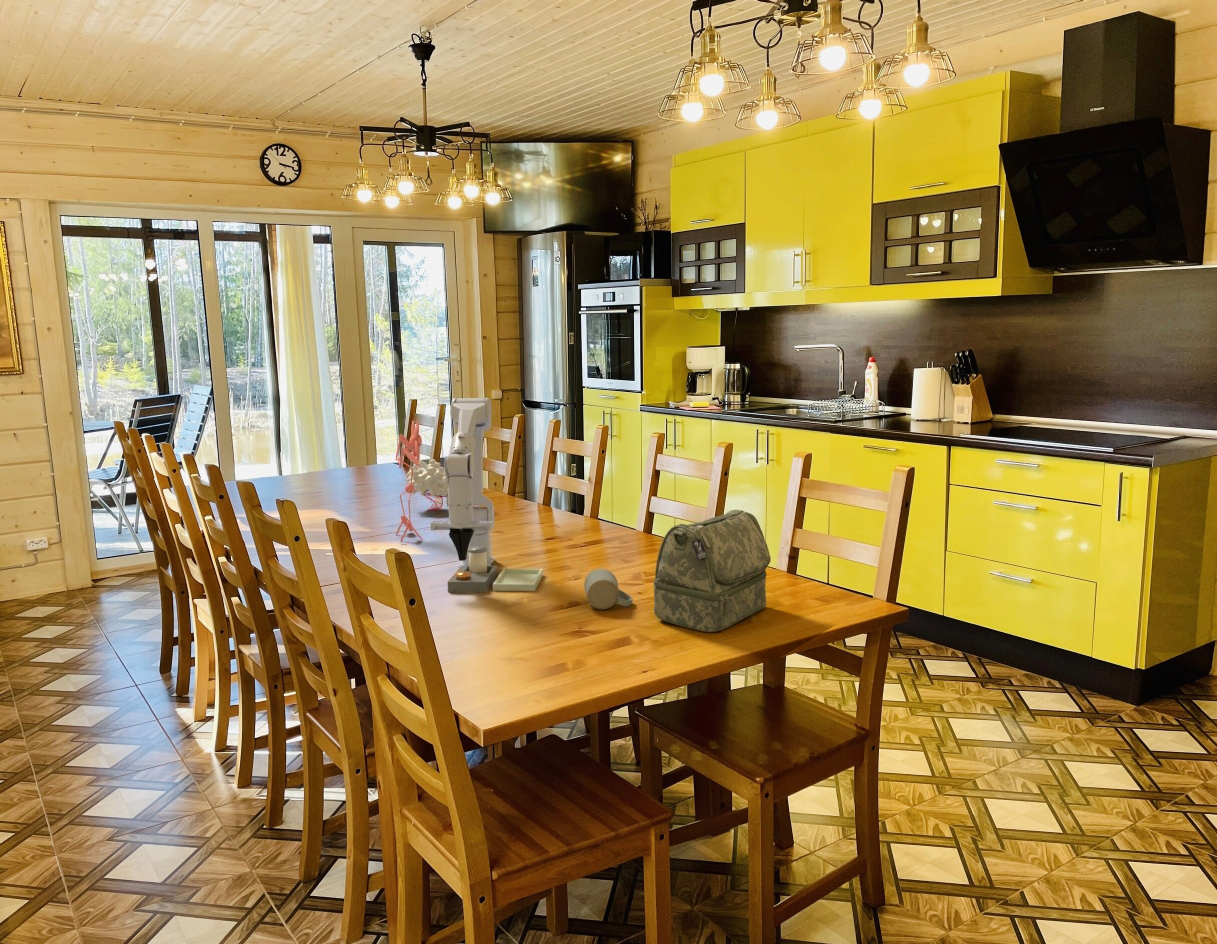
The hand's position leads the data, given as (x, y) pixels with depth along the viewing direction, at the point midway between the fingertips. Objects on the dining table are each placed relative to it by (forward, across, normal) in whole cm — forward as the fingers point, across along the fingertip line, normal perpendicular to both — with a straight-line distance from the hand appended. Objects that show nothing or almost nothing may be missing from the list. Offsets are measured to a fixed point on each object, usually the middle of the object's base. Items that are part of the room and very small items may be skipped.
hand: (462, 559), depth 215 cm
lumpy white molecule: (+8, -28, +94) cm, 99 cm away
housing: (+7, +2, +4) cm, 8 cm away
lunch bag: (+7, +58, -19) cm, 62 cm away
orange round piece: (+7, 0, 0) cm, 7 cm away
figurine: (+8, -26, +54) cm, 60 cm away
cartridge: (+7, +2, +7) cm, 10 cm away
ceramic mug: (+7, +36, -12) cm, 39 cm away
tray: (+7, +12, +5) cm, 15 cm away
